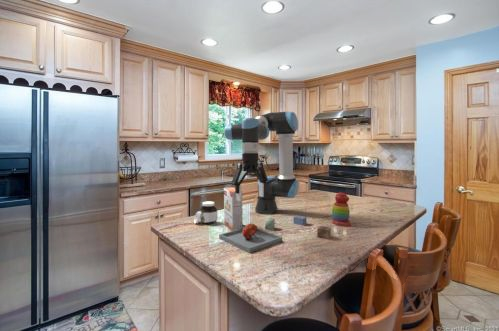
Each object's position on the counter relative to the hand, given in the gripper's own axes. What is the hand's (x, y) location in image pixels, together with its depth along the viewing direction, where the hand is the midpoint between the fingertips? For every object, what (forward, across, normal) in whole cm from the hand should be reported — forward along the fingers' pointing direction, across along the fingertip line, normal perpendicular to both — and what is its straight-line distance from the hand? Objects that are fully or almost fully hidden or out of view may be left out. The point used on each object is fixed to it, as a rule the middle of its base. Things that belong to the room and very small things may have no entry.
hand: (250, 198), depth 122 cm
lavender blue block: (+20, +38, +1) cm, 43 cm away
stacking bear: (+20, +56, -14) cm, 61 cm away
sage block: (+20, +19, +6) cm, 28 cm away
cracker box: (+20, +5, +20) cm, 29 cm away
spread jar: (+20, -2, +37) cm, 42 cm away
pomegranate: (+19, 0, 0) cm, 19 cm away
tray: (+20, 0, 0) cm, 20 cm away
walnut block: (+20, +30, -20) cm, 41 cm away
